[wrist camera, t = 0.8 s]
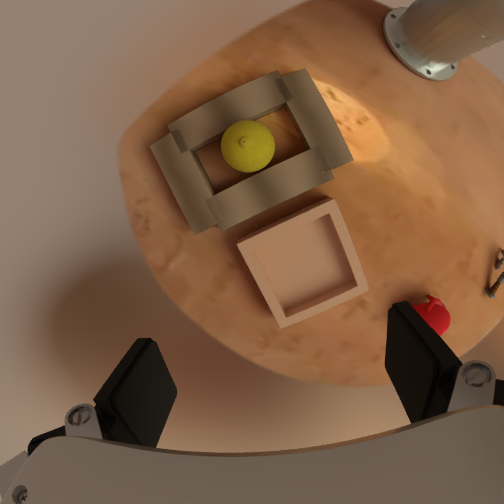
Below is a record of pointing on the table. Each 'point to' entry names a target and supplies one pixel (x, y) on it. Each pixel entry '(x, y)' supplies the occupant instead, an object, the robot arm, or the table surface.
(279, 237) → the tray
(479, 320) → the table surface
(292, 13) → the table surface
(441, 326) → the cap
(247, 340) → the table surface
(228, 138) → the lemon
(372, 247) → the table surface
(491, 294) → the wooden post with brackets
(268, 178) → the rectangular open frame
